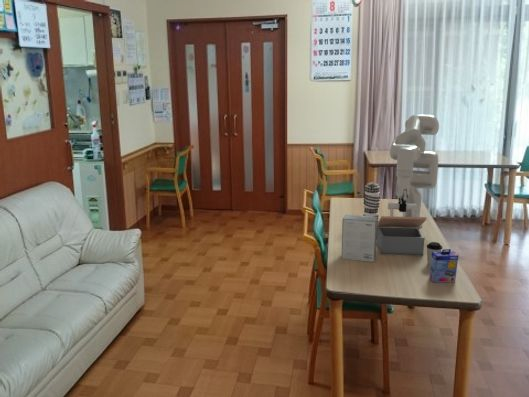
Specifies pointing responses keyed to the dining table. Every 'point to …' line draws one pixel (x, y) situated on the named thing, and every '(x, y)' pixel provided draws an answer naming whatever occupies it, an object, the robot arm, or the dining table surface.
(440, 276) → the ink cartridge box
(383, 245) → the box
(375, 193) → the decorative candle
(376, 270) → the dining table surface
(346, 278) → the dining table surface
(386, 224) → the flap
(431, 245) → the coffee cup
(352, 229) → the hard drive box
